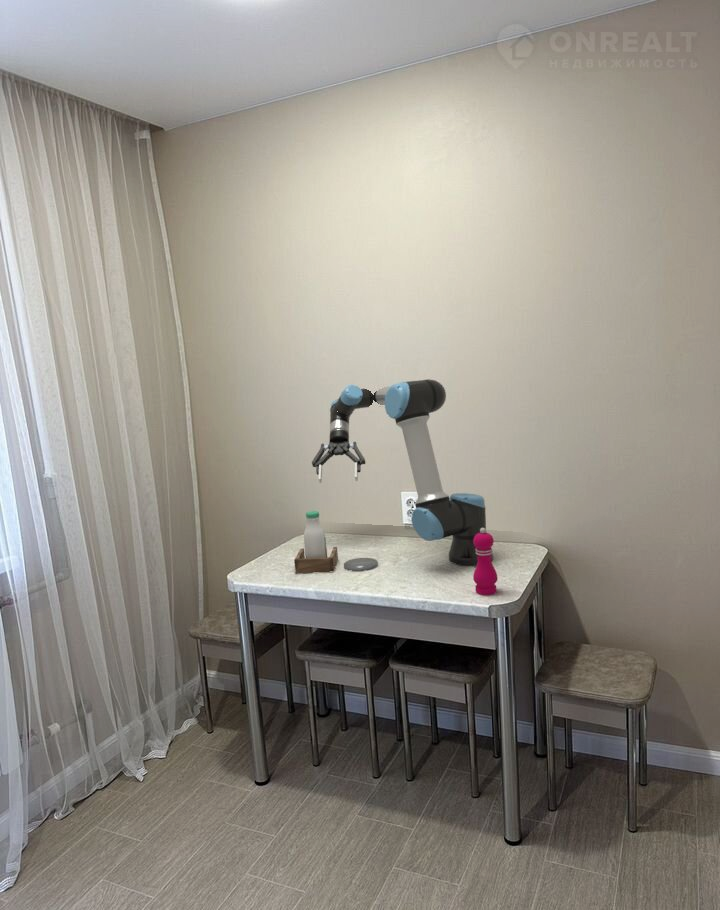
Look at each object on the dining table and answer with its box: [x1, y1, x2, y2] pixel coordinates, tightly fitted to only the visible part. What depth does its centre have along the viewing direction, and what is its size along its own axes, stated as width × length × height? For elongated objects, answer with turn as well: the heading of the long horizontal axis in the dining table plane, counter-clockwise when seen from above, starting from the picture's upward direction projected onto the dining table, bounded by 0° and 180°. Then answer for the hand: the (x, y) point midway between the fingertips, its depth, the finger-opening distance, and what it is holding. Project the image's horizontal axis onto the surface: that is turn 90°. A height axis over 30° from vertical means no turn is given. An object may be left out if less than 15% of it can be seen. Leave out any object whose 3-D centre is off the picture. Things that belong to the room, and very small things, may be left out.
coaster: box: [343, 557, 379, 572], centre depth 248 cm, size 12×12×1 cm
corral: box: [293, 546, 339, 574], centre depth 250 cm, size 13×13×5 cm
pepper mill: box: [473, 528, 498, 596], centre depth 212 cm, size 7×7×20 cm
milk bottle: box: [303, 510, 328, 558], centre depth 249 cm, size 8×8×20 cm
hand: (338, 480), depth 262 cm, fingers open, 13 cm apart
